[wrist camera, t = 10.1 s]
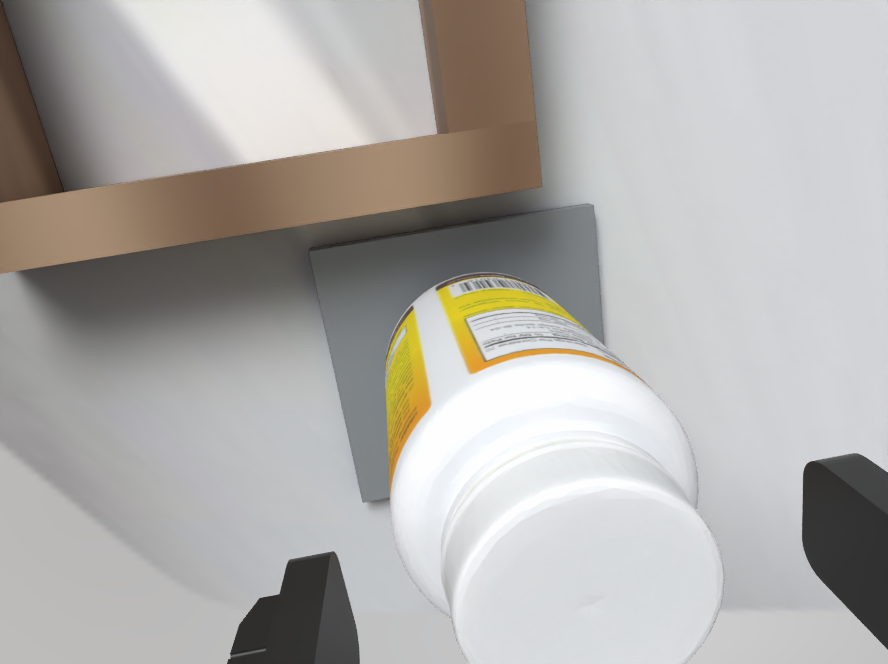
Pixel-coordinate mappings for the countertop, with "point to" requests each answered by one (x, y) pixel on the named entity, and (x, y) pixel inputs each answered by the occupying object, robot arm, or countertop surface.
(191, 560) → the countertop surface
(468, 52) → the wooden frame
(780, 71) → the countertop surface
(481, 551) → the supplement bottle
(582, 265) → the slate pad
